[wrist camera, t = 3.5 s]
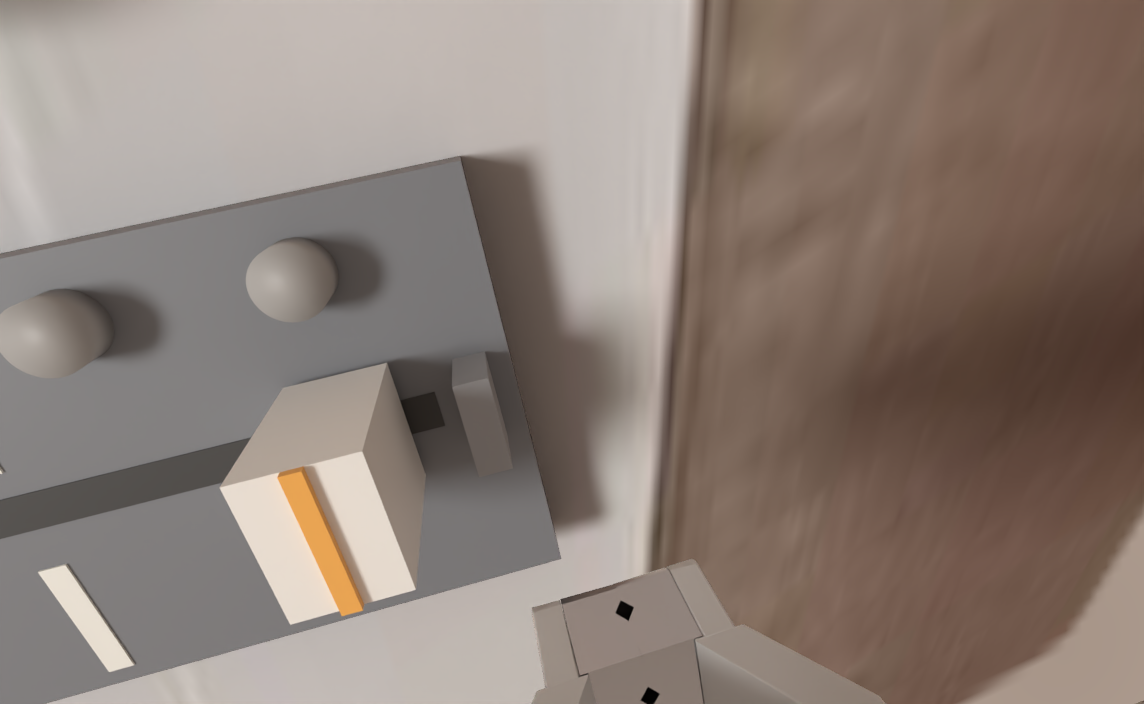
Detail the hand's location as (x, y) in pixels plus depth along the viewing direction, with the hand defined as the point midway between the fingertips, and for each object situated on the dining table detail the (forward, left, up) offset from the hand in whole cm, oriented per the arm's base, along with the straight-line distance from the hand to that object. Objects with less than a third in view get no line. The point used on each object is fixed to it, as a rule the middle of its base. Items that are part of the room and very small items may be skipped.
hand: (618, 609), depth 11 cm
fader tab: (+6, 0, -9) cm, 11 cm away
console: (+12, 0, -11) cm, 16 cm away
